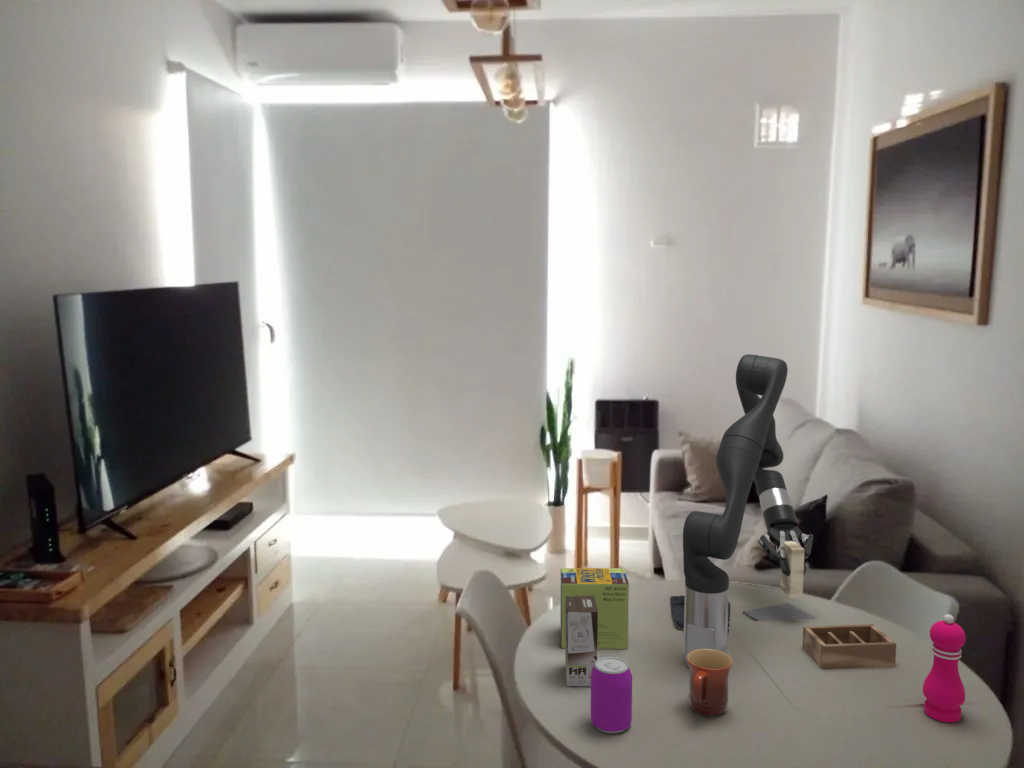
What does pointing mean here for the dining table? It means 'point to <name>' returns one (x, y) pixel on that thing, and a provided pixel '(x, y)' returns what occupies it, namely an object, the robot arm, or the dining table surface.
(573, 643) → the coffee box
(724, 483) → the robot arm
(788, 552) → the ash block
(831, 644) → the walnut box
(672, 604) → the dark slate chunk
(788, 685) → the dining table surface
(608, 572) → the protein box
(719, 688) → the mug
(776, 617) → the rubber mat
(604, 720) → the beverage can
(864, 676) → the dining table surface
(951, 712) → the pepper mill
